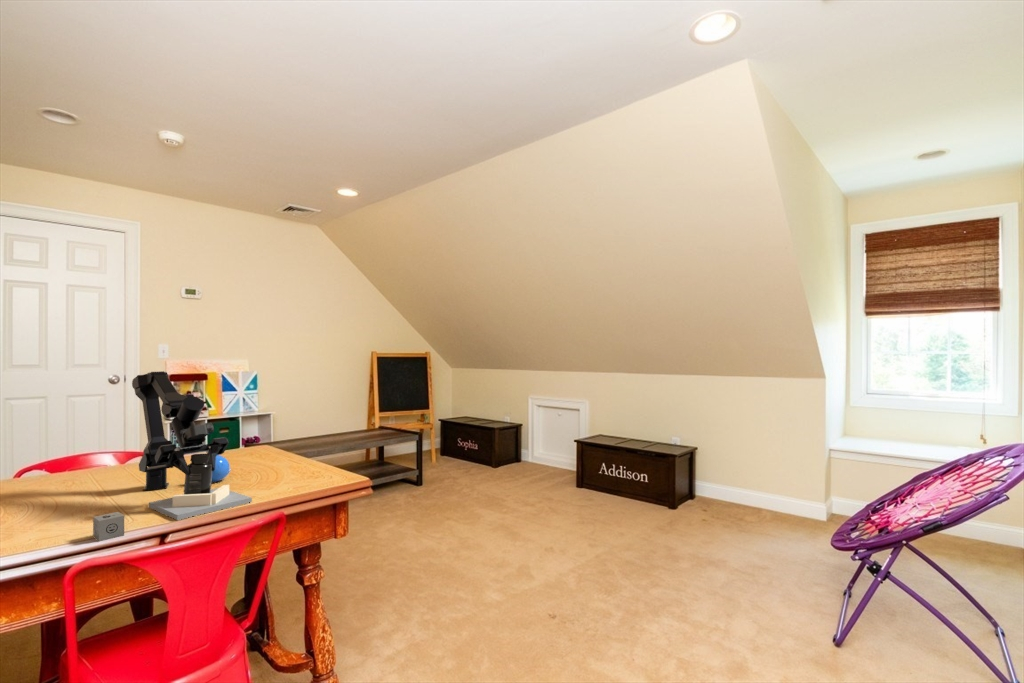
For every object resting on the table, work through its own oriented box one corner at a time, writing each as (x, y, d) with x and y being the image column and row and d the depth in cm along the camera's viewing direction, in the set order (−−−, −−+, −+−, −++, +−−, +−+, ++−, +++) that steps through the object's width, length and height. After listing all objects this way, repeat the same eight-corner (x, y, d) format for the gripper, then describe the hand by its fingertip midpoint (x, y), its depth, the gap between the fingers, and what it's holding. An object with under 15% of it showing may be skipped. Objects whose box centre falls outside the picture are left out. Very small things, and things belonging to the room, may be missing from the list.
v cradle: (148, 507, 148) (148, 492, 148) (220, 492, 164) (220, 478, 165) (177, 520, 137) (177, 503, 137) (251, 502, 153) (251, 487, 153)
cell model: (235, 476, 186) (235, 450, 186) (225, 484, 174) (225, 456, 175) (204, 478, 183) (204, 451, 184) (193, 486, 172) (193, 458, 172)
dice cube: (93, 537, 125) (93, 516, 125) (118, 531, 129) (118, 511, 129) (98, 541, 122) (99, 521, 122) (124, 535, 126) (124, 515, 126)
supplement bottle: (215, 494, 153) (219, 453, 154) (195, 498, 146) (199, 456, 147) (198, 492, 155) (201, 452, 156) (177, 496, 148) (181, 454, 149)
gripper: (159, 418, 146) (174, 461, 140) (226, 411, 161) (243, 450, 155) (148, 442, 151) (162, 485, 144) (214, 434, 166) (230, 472, 159)
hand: (201, 472), depth 150 cm, fingers closed on supplement bottle, 6 cm apart
